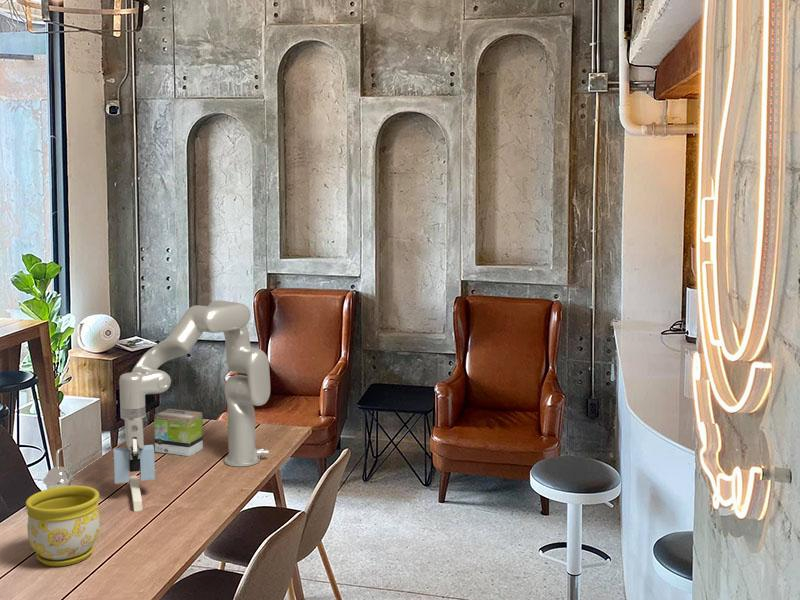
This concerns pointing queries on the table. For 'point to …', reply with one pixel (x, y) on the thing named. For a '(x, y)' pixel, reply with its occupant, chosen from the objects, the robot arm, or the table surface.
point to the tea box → (178, 432)
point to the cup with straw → (58, 474)
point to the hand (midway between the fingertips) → (134, 467)
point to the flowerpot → (63, 524)
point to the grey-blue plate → (124, 463)
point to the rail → (135, 493)
